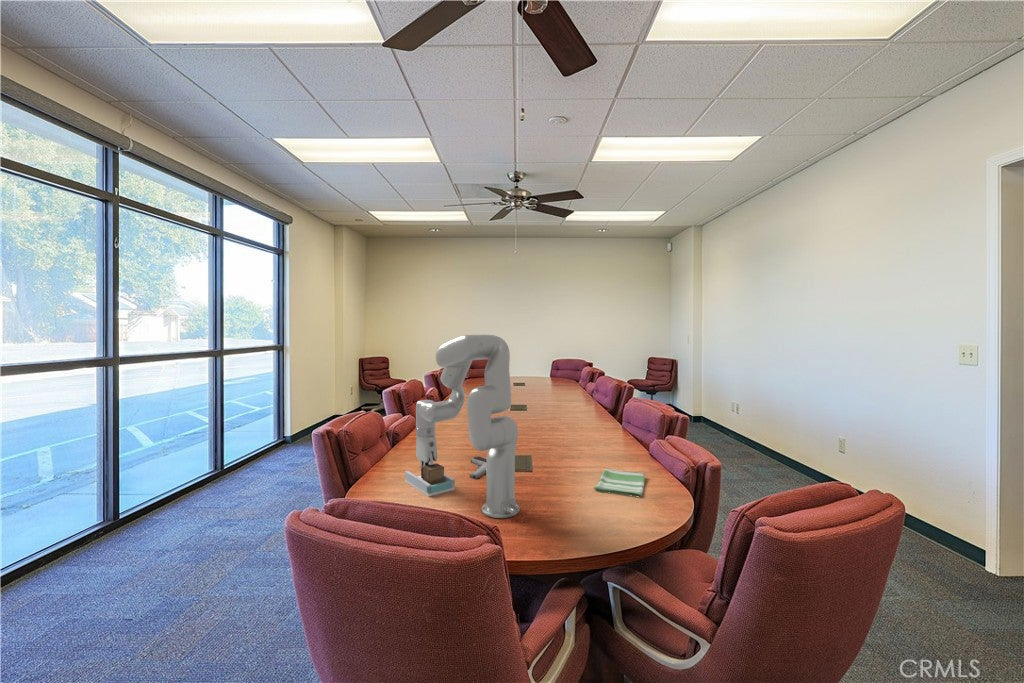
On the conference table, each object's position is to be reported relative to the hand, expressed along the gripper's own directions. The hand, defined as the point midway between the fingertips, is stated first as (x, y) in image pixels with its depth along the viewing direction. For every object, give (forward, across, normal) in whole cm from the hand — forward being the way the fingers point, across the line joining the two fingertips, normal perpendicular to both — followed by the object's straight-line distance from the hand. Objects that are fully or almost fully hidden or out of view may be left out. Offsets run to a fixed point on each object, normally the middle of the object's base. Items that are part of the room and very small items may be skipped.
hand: (425, 477), depth 173 cm
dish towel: (+3, -47, -61) cm, 77 cm away
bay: (+2, -3, 0) cm, 4 cm away
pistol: (+3, +4, -26) cm, 27 cm away
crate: (+1, -6, 0) cm, 6 cm away
